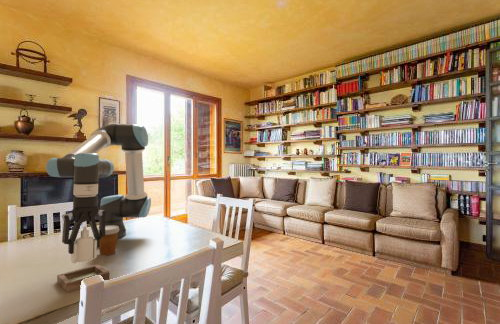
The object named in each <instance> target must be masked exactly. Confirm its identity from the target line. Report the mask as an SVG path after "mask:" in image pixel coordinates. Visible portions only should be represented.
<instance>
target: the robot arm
mask: <svg viewBox="0 0 500 324" xmlns="http://www.w3.org/2000/svg"><path fill="white" fill-rule="evenodd" d="M148 145H149V135H148V131H147V129H146V127H145V126H144V125H142V124H134V123H132V124H131V123H110V124H109V123H108V124H106V125H104V126H101V127H99V128H98V129H96V130H93V132H92V133H91V134H90V136H89V137H88V138H86V140H84V141H83V142H81V143H80V144H78V145H77V146H76V147H74V148H73V149H72V150H70V151H69V152H68V153H66V154H65V155H64V156H62V157H52V158H50V159H48V160H47V162H46V164H45V170H46V173H47V174H48V176H49V177H53V178H54V177H55V178H73V195H74V197H73V199H72V200H73V201H72V210H71V212H69V213H67V214H66V213H65V214H63V215H62V216H61V218H62V221H63V224H62V228H63V229H62V235H61V236H62V238H61V242H62V244H64V245H68V246H67V247H68V248H67V251H68V254H70V255H71V258H70V260H71V261H70V262H71V263H73V264H77V262H76V260H77V244H76V243H75V241H76V239H77V237H78V234H79V233H80V232H79V231H80V228H81V226H82V225H83V223H86V222H88V223H89V225H90V229H91V231H92V234H93V239H94V244H93V259H96V258H97V255H98V253H97V252H98V248H99V246H100V245H99V244H100V239H101V238H102V237H104V236H105V226H110V225H115V226H118V227H119V229H120V230H119V232H118V238H117V239H119V238H122V237H125V236H127V230H126V226H125V223H124V218H128V219H129V218H130V219H131V218H133V219H134V218H135V219H136V218H137V219H140V218H146V217H148V215H149V213H150V210H151V206H152V198H151V197H150V196H148V193H147V192H145V181H144V166H143V165H144V162H143V161H144V160H143V152H144V150H145V149H146V148H145V147H147V146H148ZM110 146H119V147H121V150H122V151H123V152H124V157H125V172H126V183H127V184H126V186H127V194H125V195H124V194H114V195H108V196H104V197H102V198H101V199H100V205H99V196H98V194H99V179H100V178H103V179H105V178H107V177H109V176H111V175H112V174H113V173H114V169H115V167H114V164H113V162H112V161H110V160H108V159H106V158H100V155H99V154H98V153H99V152H101V150H103V149H106V148H108V147H110ZM98 205H99V206H100V209H99V206H98ZM97 214H98V225H97V223H96V218H95V217H96V216H97ZM72 218H74V219H75V220H74V224H73V227H72V230H71V233H70V229H71V228H70V227H71V220H72ZM98 228H99V232H98Z"/></svg>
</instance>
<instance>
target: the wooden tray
mask: <svg viewBox="0 0 500 324" xmlns="http://www.w3.org/2000/svg"><path fill="white" fill-rule="evenodd" d="M110 273H111V272H110V270H107V269H106V268H104V267H103V266H101V265H99V264H98V263H96V264H93V265H89V266H86V267H85V266H84V267H81V268H78V269H74V270H71V271H67V272H64V273H59V274H58V275H57V276H56V277H57V279H56V283H58V284H59V286H60V287H61V288H62V289H63V290H64V291H65V292H66V293H70V292H73V291H76V290H80V289H81V288H80V285H81V281H82V280H83V279H85V278H89V277H92V276H95V275H101V276H102V277H103V279H104V281H107V280H110Z"/></svg>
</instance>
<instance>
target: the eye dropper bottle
mask: <svg viewBox="0 0 500 324" xmlns="http://www.w3.org/2000/svg"><path fill="white" fill-rule="evenodd" d="M89 232H90V230H89V229H87V227H86V226H84V227H83V229H82V230H80V237H78V238H76V240H75V243H76V244H77V260H76V263H83V262H89V261H91V260H93V259H94V258H93V244H94V239H95V238H94V236H90V235H89V234H90V233H89Z"/></svg>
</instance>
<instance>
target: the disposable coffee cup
mask: <svg viewBox="0 0 500 324" xmlns="http://www.w3.org/2000/svg"><path fill="white" fill-rule="evenodd" d="M97 229H98V232H99V227H97ZM119 230H120V229H119V227H118V226H115V225H110V226H105V236H104V237H102V238H101V239H100V244H99V245H100V246H99V255H100V256H111V255H113V254H115V253H116V249H117V244H118V243H117V242H118V239H119V238H118V232H119Z"/></svg>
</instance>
